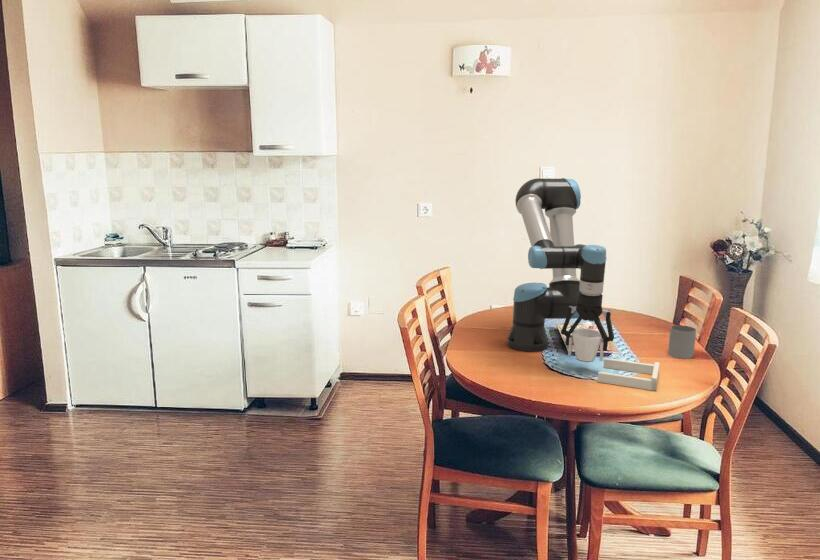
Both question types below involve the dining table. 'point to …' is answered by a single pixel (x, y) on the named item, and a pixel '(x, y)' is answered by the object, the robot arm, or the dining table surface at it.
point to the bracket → (630, 380)
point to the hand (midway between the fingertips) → (585, 357)
